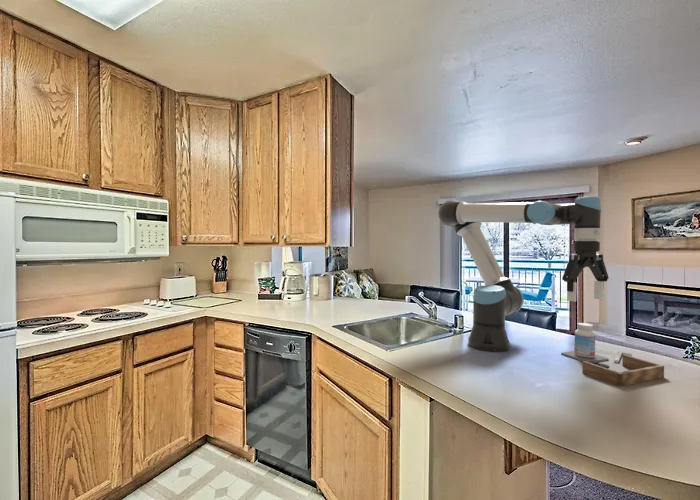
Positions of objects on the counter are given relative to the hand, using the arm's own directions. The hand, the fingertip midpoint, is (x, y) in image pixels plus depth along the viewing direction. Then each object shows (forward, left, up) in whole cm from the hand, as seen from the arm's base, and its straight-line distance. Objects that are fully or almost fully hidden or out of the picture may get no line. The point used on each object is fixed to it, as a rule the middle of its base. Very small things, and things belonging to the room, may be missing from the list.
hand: (585, 300), depth 122 cm
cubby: (-5, -15, -20) cm, 26 cm away
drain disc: (-3, -8, -20) cm, 22 cm away
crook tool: (+11, -6, -21) cm, 24 cm away
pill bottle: (0, 0, -20) cm, 20 cm away
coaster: (0, 0, -20) cm, 21 cm away
